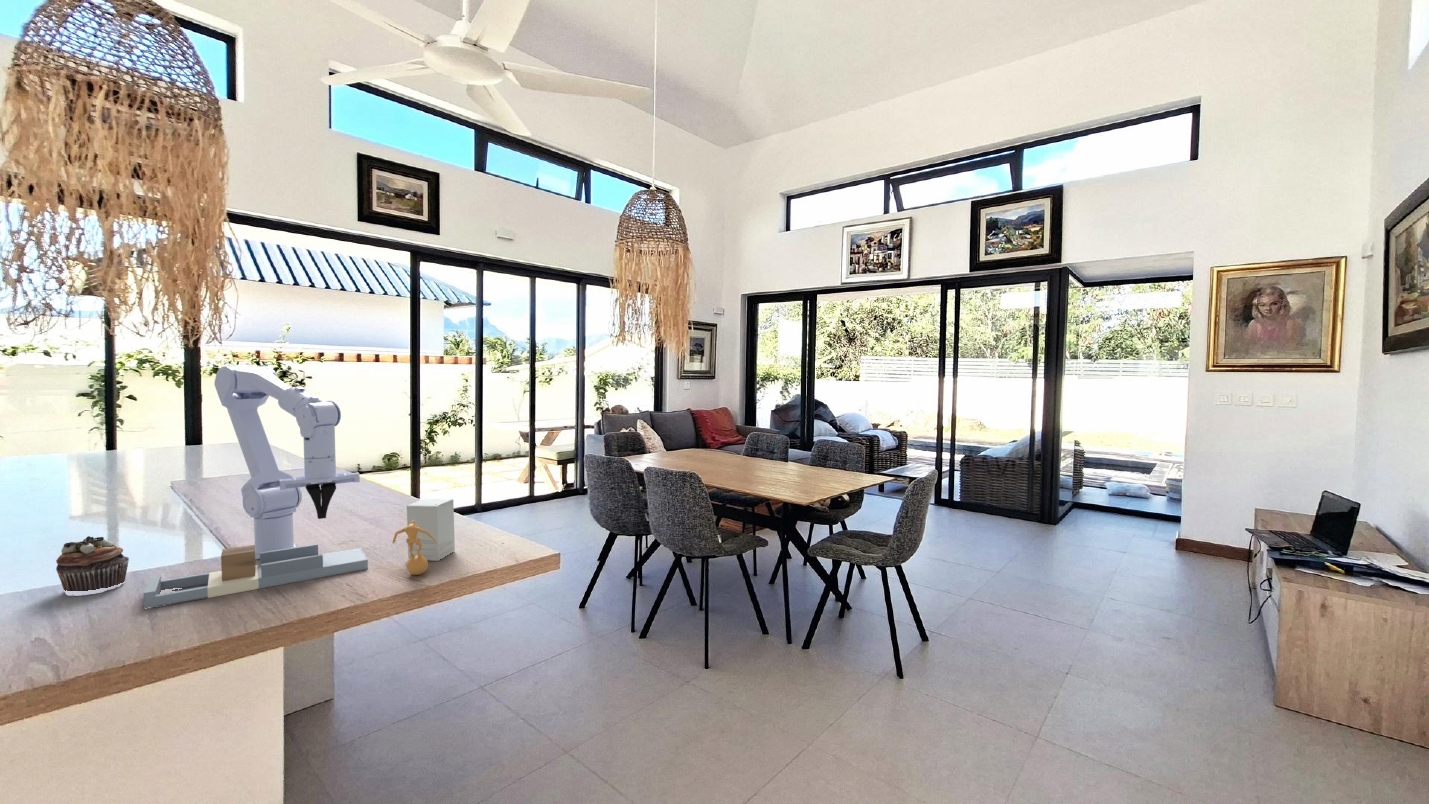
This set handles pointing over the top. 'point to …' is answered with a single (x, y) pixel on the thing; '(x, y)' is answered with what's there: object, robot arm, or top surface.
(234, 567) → the block
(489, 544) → the top surface
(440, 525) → the supplement box
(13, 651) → the top surface
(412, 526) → the figurine
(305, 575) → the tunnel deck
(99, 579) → the cupcake
